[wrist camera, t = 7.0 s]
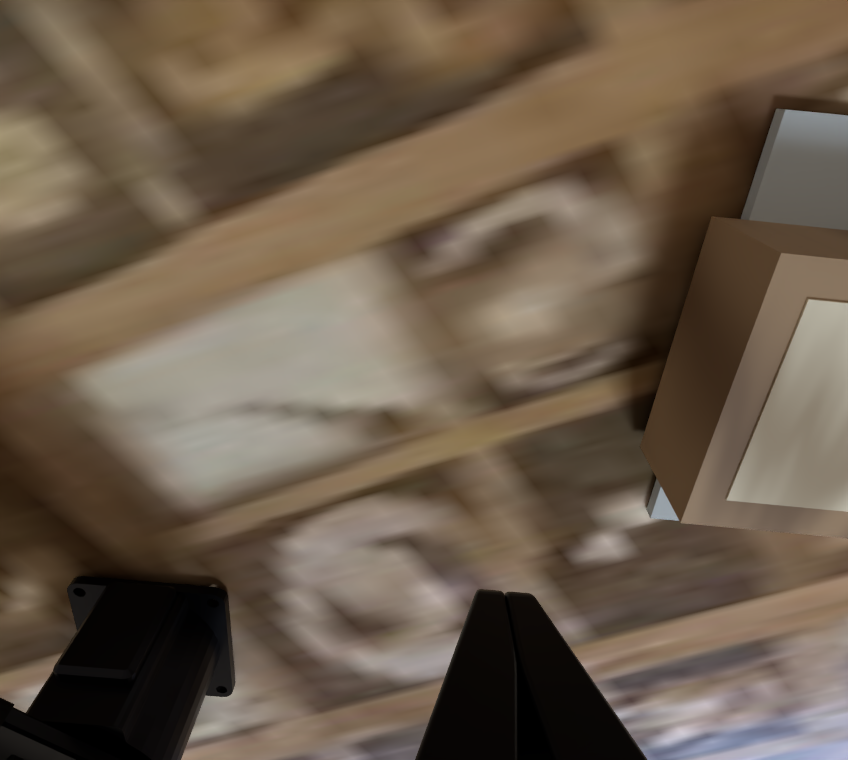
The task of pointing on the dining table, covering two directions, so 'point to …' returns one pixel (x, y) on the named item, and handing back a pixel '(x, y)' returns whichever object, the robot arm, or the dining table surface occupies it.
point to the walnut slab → (758, 384)
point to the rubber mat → (793, 193)
